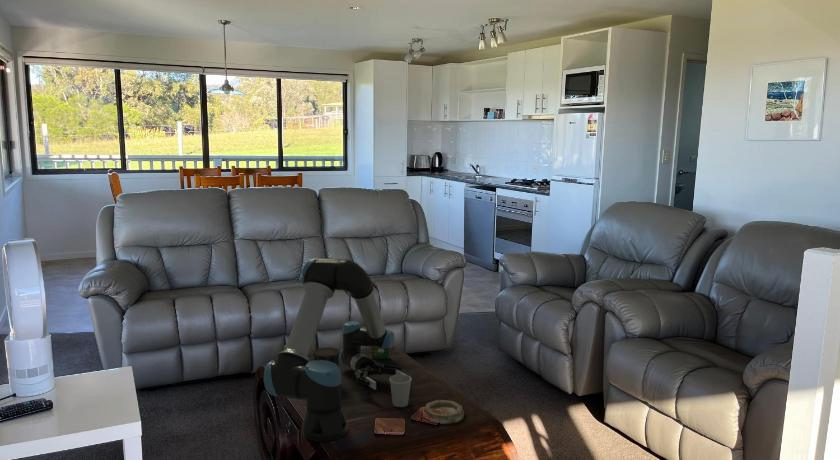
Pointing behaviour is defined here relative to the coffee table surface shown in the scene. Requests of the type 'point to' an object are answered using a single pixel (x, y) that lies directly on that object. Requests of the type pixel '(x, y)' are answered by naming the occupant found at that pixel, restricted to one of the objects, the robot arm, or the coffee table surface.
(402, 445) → the coffee table surface
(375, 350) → the coffee box
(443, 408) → the rimmed coaster
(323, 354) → the coffee can
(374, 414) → the coffee table surface
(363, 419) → the coffee table surface
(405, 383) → the dixie cup
